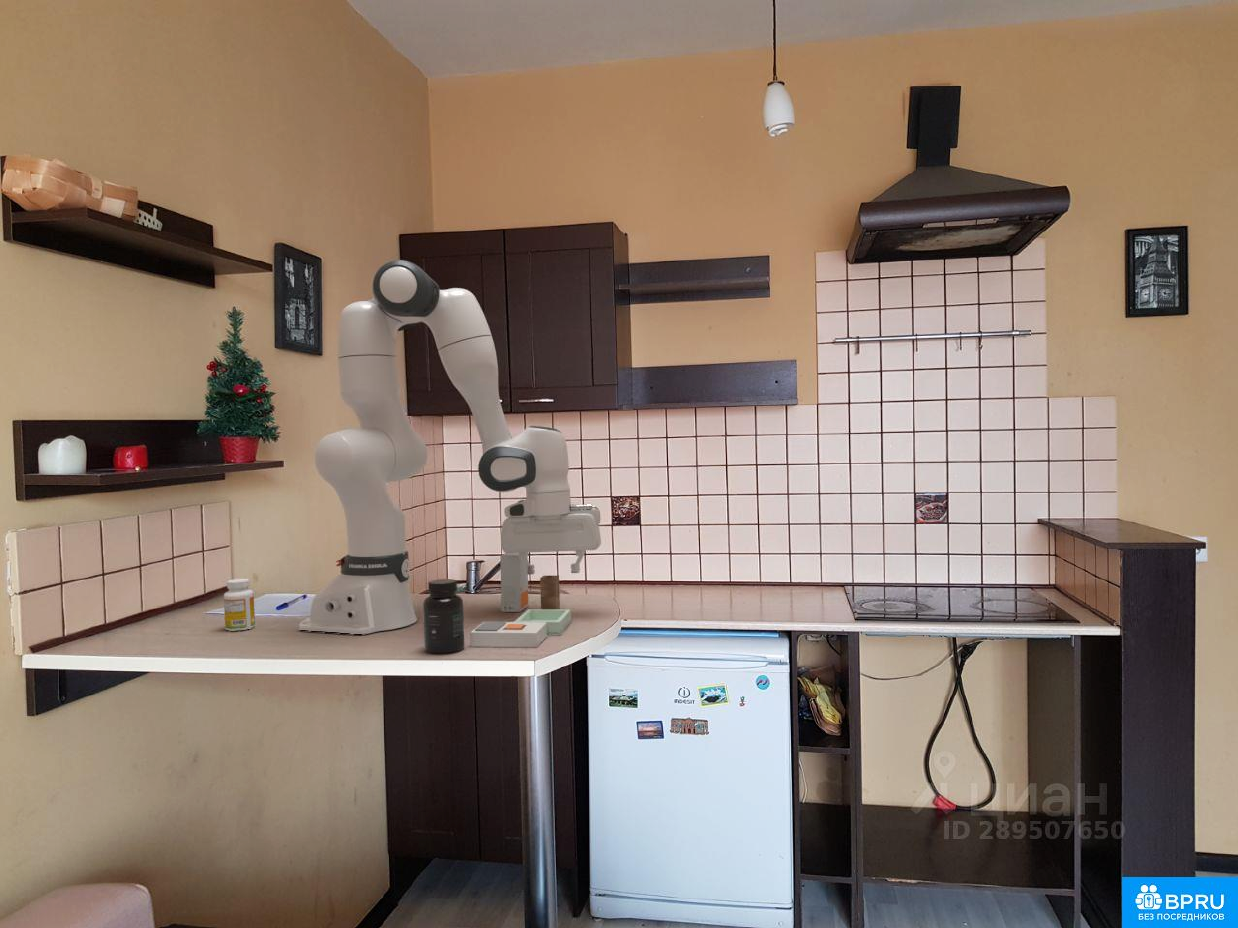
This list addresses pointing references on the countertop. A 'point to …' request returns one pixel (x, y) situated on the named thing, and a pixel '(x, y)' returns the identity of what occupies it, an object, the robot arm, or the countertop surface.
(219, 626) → the countertop surface
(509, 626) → the button
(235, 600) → the supplement bottle
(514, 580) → the skincare box
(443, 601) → the supplement bottle
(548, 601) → the wooden block
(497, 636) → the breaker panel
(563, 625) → the bay tray
